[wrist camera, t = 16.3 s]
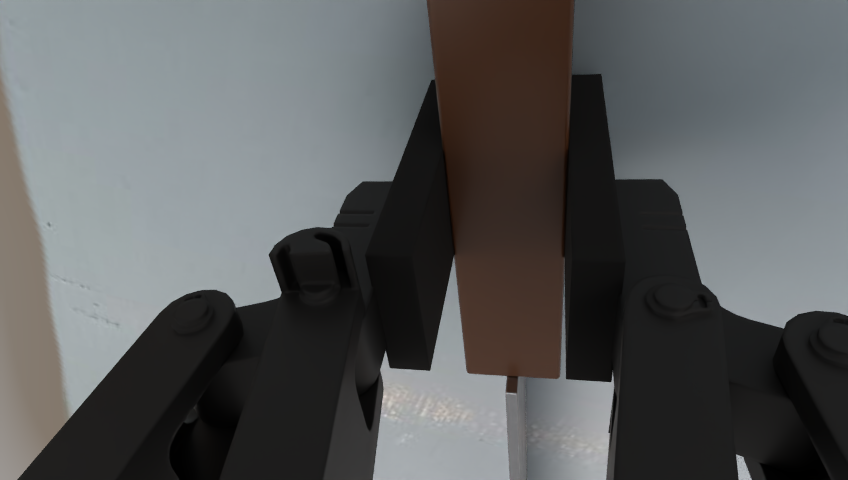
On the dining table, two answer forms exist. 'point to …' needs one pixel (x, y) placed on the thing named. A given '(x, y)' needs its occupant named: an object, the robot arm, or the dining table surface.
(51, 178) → the dining table surface
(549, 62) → the knife
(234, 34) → the dining table surface
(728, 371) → the robot arm
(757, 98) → the dining table surface
